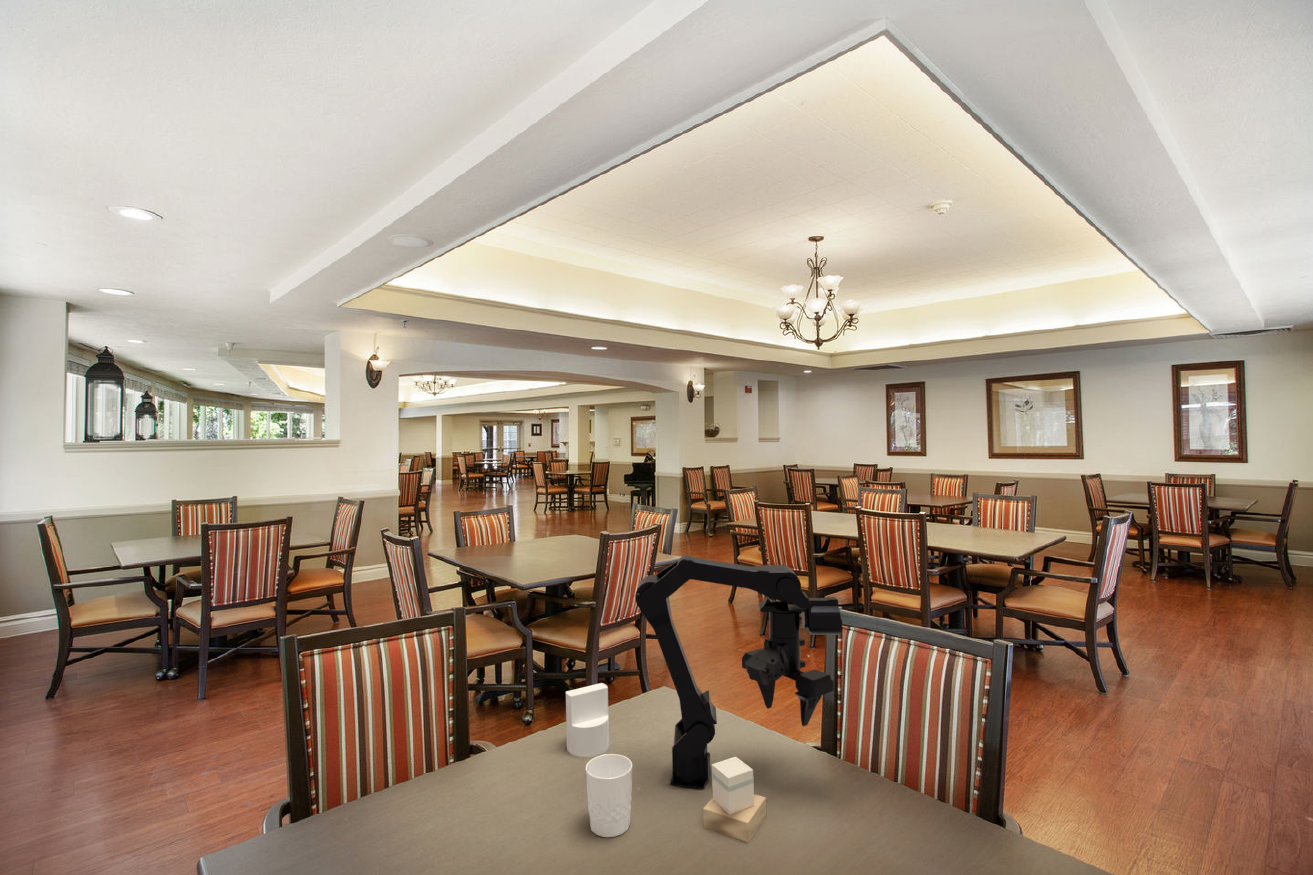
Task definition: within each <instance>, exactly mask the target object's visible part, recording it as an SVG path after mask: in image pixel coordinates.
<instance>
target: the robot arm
mask: <svg viewBox="0 0 1313 875" xmlns="http://www.w3.org/2000/svg"><path fill="white" fill-rule="evenodd" d="M690 580H692V581H693V580H694V581H699V582H705V583H711V584H717V585H724V586H731V587H736V588H741V589H749V590H750V591H751V590H752V591H754V592H757V593H758V594H761V595H762V596H765V597H764V599H763V600H762V601H761V602H760V603H758V609H759V611H760V612H761V613H768V624H769V625H768V631H769V632H768V633H769V635H768V636H769V637H767V638H764V641H763V648H757V649H753V650H749V651H747V652H744V654H743V656H742V657H741V668H742V669H745V670H746V673H747V675H748V678H749V679H750V680H751V681H754V682H756V683H757V685H758V688H759V690H760V693H761V697H762V700H763V702H764V704H765V707H766V709H768V710H769V709H771V708H772V707H773V702H774V697H775V696H774V695H775V687H776V681H778V680H779V679H781V677H786V678H789V679H790V680H793V681H795V683H794V684H795V689H796V690H797V691H795V692H794V695H796V697H797V698H798V699H799V706H800V707H799V708H800V723H801V726H802V727H806V726H808V725H809V723H810V721H811V718H812V716H813V714H814V712H815V709H816V707H817V705H818V703H819V702H820V700H821V699H822V697H823V695H827V694H828V693H831V692H834V691H835V690H834V689H835V687H834V678H833V677H832V676H831V674H830V673H826V672H824V671H821V670H819V669H816V668H815V669H813V670H809V671H806V672H803V671H801V669H803V668H805V667H806V661H805V660H803V659H801V647H803V646H805V645H806V642H805V641H806V640H805V639H804V638H802V637H801V624H802V629H803V630H808V633H809V635H810V636H811V635H817V636H818V635H827V636H829V635H830V636H831V635H835V636H837V635H838V636H839V635H841V634H842V633H843V619H842V617H841V609H840V606H839V599H837V597H836V596H828V597H809V596H808V595H807V593H806V592H805V591H803V590H802V583H801V581H800V580H801V579H800V578H799V577H798V576H797V574H796V572H794V569H792V568H791V567H789V566H787V565H785V564H764V565H758V566H751V565H750V566H749V565H743V564H736V563H730V562H724V561H718V560H711V559H704V558H700V557H695V556H692V555H689V554H688V555H687V554H685V555H683V556H681V557H680V558H678V560H677V561H675V562H673V563H672V564H669V566H667V567H665V568H663V569H662V570H661V571H660V572H658V573H656V574H650V575H647V576H645V577H643V578H642V579H641V580H640V582H639V584H638V587H637V590H636V591H635V603H636V604H637V607H638V608H639V611H640V612H641V614H642V615H643V618H645V620H646V622H647V623H648V625H650V626H651V628H652V630H653V632H654V633H655V637H656V639H657V641H658V644H659V648H660V650H661V653H662V656H663V658H664V661H665V663H666V666H667V669H668V671H669V672H668V673H669V674H670V677H671V680H672V683H673V685H674V688H675V691H676V694H677V696H678V700H679V707H680V714H681V719H680V720H678V722H676V724H675V725H674V739H673V745H672V747H671V755H672V759H671V760H672V764H671V766H672V776H671V778H670V781H669V783H670V785H672V786H678V787H685V788H692V789H699V790H704V789H705V787H706V783H707V782H708V781H709V779H710V776H711V775H712V765H711V753H710V752H709V751H708V744H710V743H711V742H712V741H713V739H714V737H715V735H716V725H717V724H718V721H717V709H716V706H715V705H714V704H713V702H712V700H711V694H710V691H709V689H708V690H706V691H705V692H702V691H701V689H700V688H699V686H698V685H697V682H696V679H695V677H694V675H693V672H692V668H691V666H690V663H689V661H688V658H687V655H686V653H685V650H684V647H683V645H682V641H681V639H680V636H679V634H678V631H677V628H676V626H675V622H674V621H673V615H672V609H671V602H670V596H672V595H673V594H674V593H675V592H676V591H678V590H679V589H680V588H681V587H683V585H685V584H686V583H687V582H688V581H690ZM772 599H773V600H772ZM789 602H790V603H792V604H788V603H789ZM800 613H801V615H800ZM800 616H801V618H800ZM800 619H801V621H800Z"/></svg>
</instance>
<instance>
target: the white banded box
mask: <svg viewBox="0 0 1313 875" xmlns="http://www.w3.org/2000/svg"><path fill="white" fill-rule="evenodd" d="M711 782H712V783H711V784H712V798H713V800H714V801H715V802H716V803H717V804H718V805H719V806H720V807H722V808H723V809H724V810H725V811H726V812H727V813H728V814H729V815H731V814H733V813H736V812H739V811H741V810H744V809H746V808H749V807H752V806H754V794H755V790H754V789H755V787H754V785H755V778H754V769H753V768H752V767H750V766H749V765H748V764H746V763H745V762H744V761H742V760H741V759H739V758H738V757H737V756H733V757H730V758H727V759H724V760H720V761H718V762H715V763H712V764H711Z"/></svg>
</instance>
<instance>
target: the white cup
mask: <svg viewBox="0 0 1313 875" xmlns="http://www.w3.org/2000/svg"><path fill="white" fill-rule="evenodd" d="M585 778H586V796H587V807H588V808H587V809H588V815H589V826H590V830H591V831H592V832H593V833H594V834H595V835H596V836H599V837H602V838H615V837H618V836H621V835H623V834H624V833H625V832H627V831H628V830H629V828H630V824H631V808H632V793H633V791H632V789H633V762H632V761H631V759H630V758H628V757H627V756H625V755H622V754H618V753H605V754H601V755H600V754H599V755H596V756H594V757H593V758H591V759H590V760H588V762H587V763H586V765H585Z"/></svg>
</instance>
